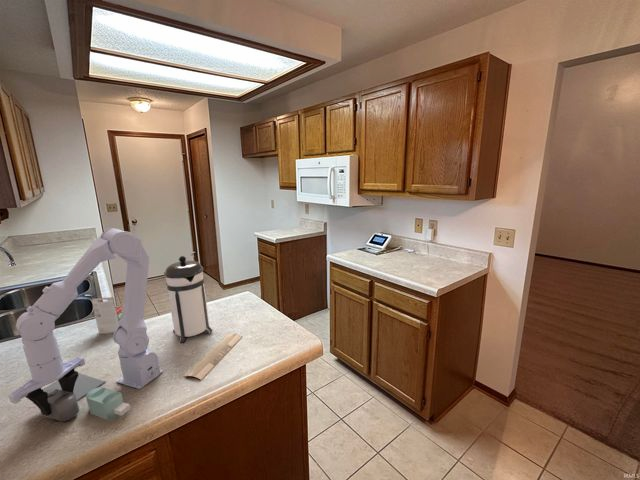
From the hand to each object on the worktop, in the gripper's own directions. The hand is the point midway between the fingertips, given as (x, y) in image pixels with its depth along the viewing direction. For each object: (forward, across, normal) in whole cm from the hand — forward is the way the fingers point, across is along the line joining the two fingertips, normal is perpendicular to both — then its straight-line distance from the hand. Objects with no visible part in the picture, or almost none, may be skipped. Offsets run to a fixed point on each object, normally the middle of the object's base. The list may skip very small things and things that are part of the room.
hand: (58, 406), depth 74 cm
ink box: (+3, -33, -28) cm, 43 cm away
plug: (+2, 0, -1) cm, 2 cm away
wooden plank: (+4, -33, +22) cm, 40 cm away
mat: (+2, -7, -8) cm, 11 cm away
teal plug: (+2, -5, +11) cm, 12 cm away
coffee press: (+3, -42, +2) cm, 42 cm away
